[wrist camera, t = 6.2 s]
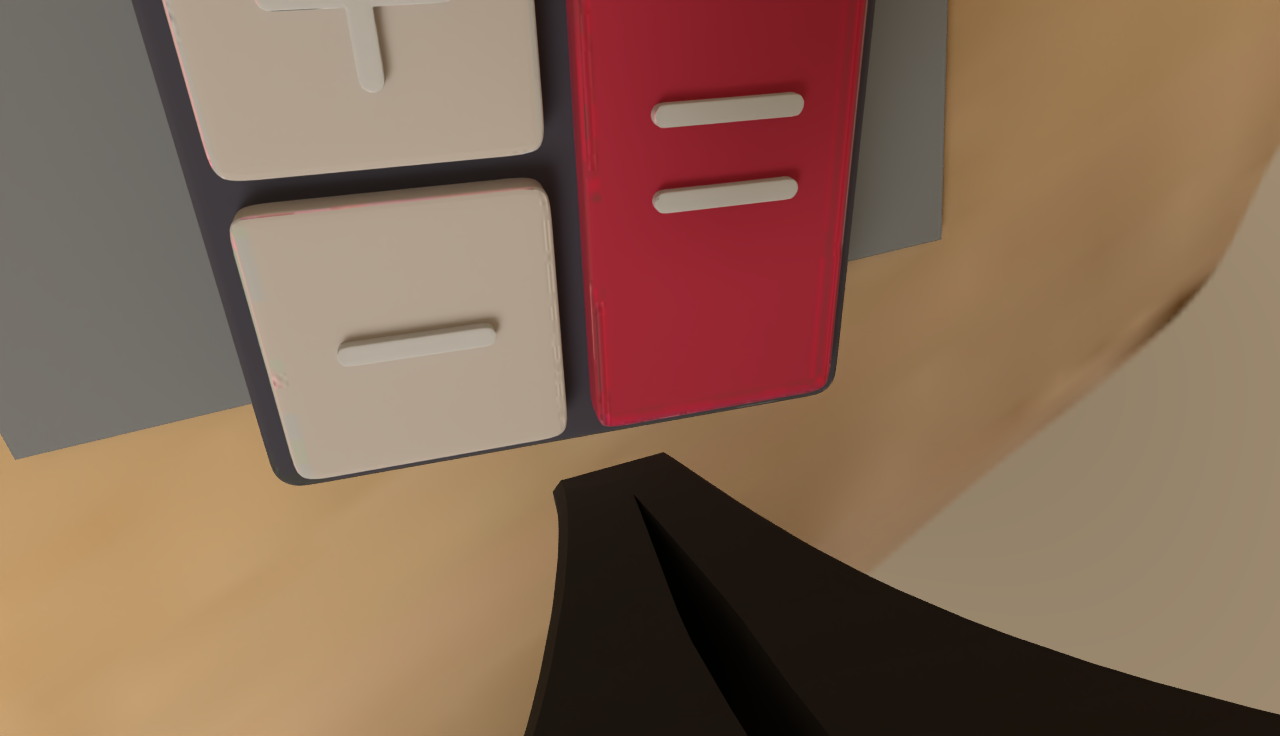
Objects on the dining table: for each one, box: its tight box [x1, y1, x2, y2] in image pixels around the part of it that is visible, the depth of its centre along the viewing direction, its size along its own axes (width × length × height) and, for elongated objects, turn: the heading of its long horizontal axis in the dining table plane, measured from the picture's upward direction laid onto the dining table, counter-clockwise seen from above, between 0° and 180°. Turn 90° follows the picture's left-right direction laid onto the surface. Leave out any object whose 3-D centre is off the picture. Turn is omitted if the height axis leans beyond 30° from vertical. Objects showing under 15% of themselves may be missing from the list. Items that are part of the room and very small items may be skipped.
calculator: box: [131, 0, 876, 486], centre depth 13 cm, size 11×4×15 cm
